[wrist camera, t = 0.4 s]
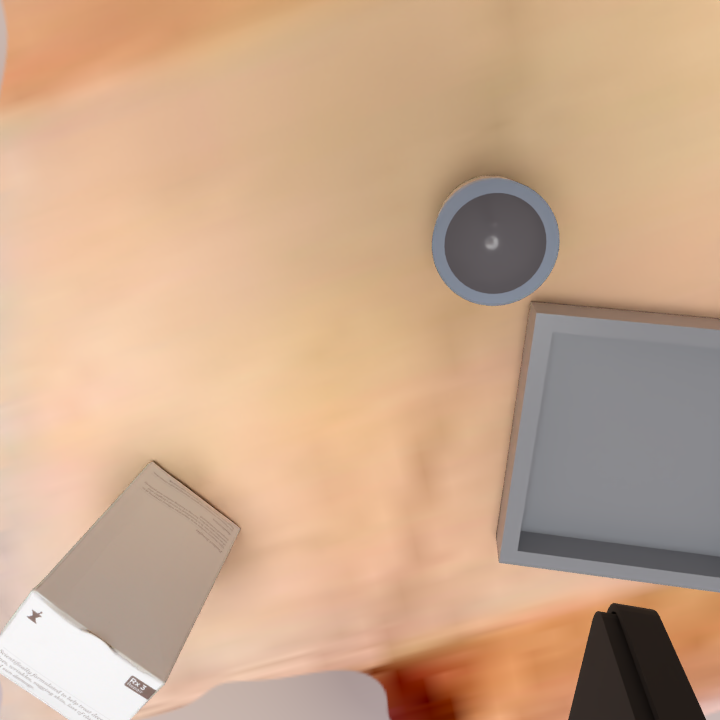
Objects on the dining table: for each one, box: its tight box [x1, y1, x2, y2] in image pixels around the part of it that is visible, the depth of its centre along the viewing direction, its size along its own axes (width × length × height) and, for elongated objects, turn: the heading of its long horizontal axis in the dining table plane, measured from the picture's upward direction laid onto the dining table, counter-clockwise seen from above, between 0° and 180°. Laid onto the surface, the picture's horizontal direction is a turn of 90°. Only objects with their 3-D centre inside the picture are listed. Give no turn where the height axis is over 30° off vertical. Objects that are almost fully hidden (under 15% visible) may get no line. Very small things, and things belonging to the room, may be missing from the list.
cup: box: [432, 175, 559, 306], centre depth 35 cm, size 6×6×7 cm
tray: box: [496, 302, 720, 592], centre depth 39 cm, size 16×16×3 cm
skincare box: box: [0, 462, 240, 720], centre depth 40 cm, size 8×6×15 cm
